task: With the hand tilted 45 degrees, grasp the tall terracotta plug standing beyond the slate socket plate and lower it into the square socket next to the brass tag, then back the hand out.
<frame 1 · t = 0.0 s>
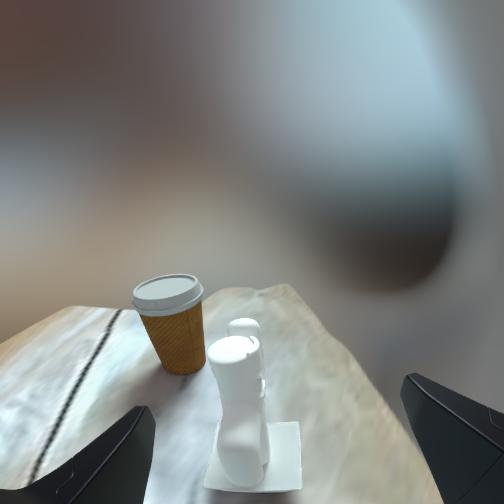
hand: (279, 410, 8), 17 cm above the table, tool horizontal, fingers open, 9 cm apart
figurine: (259, 474, 19), on the table
disposable coffee cup: (184, 363, 37), on the table
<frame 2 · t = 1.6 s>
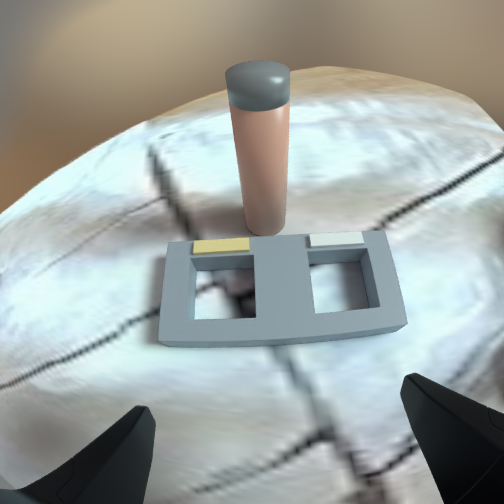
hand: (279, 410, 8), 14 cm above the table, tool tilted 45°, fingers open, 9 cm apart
socket plate: (282, 294, 24), on the table
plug: (265, 220, 29), on the table
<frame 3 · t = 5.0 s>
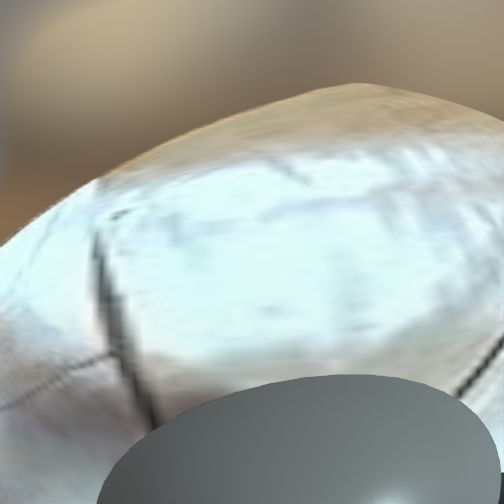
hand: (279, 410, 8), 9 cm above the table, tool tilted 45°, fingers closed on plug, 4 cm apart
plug: (277, 424, 15), on the table, touching gripper
when the fingers open (9 cm above the table, at t = 8.4 s): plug stays where it is, resting in socket plate.
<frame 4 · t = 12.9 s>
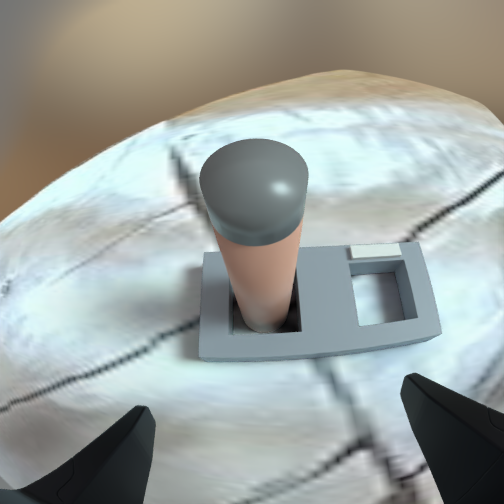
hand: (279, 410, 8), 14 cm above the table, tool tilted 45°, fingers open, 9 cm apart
socket plate: (322, 306, 24), on the table
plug: (264, 310, 24), resting in socket plate
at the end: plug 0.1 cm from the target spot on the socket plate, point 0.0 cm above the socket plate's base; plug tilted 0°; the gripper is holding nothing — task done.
